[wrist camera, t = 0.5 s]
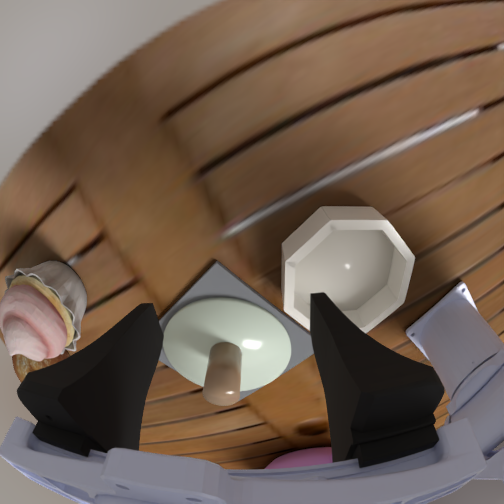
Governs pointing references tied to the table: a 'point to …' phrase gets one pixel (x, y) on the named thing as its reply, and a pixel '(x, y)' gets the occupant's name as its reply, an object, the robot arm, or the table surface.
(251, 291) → the mat
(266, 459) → the table surface
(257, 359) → the lid
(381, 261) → the bowl
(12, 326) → the cupcake
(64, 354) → the bread roll
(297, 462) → the teapot
